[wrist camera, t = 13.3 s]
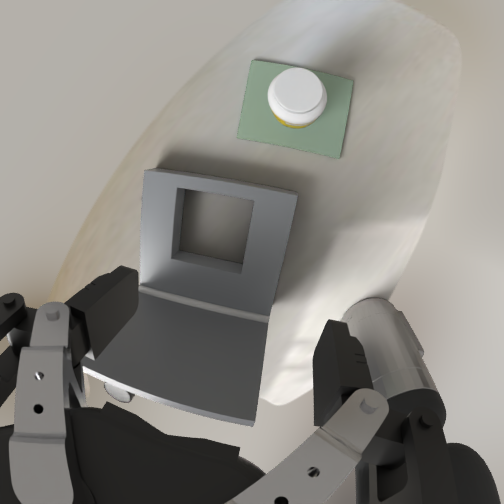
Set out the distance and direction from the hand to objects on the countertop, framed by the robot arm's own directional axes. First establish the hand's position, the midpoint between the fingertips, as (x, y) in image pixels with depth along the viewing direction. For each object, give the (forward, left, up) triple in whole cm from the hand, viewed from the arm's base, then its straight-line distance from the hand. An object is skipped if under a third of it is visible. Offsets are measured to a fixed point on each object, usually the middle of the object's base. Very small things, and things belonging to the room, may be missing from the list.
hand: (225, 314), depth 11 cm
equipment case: (+6, +6, -24) cm, 25 cm away
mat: (-1, -12, -24) cm, 26 cm away
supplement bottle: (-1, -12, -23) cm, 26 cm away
